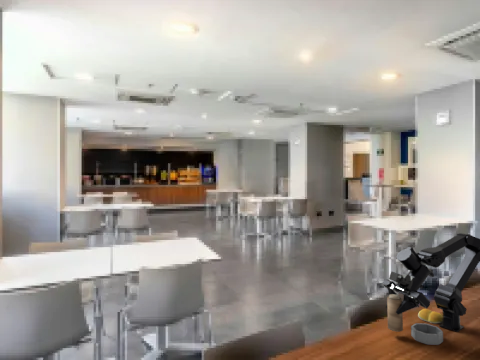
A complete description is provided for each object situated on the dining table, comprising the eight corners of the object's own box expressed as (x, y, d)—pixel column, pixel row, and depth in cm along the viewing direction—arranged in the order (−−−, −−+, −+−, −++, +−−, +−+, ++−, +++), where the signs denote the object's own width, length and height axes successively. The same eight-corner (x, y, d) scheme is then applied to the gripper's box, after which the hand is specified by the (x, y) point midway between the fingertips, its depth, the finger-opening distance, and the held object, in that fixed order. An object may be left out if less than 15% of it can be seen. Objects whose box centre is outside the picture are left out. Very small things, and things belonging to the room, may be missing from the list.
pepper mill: (396, 324, 124) (395, 293, 124) (406, 330, 119) (405, 297, 119) (384, 326, 123) (384, 294, 123) (394, 332, 118) (393, 298, 118)
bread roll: (440, 326, 129) (439, 316, 129) (415, 319, 136) (415, 309, 136) (447, 320, 135) (447, 310, 135) (423, 314, 142) (423, 304, 142)
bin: (419, 330, 126) (419, 321, 126) (446, 339, 118) (446, 329, 118) (407, 337, 120) (407, 328, 120) (435, 347, 112) (435, 337, 113)
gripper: (385, 258, 131) (362, 289, 128) (422, 270, 113) (396, 306, 110) (402, 276, 133) (379, 307, 130) (441, 290, 115) (416, 326, 112)
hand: (391, 310), depth 121 cm, fingers closed on pepper mill, 5 cm apart
